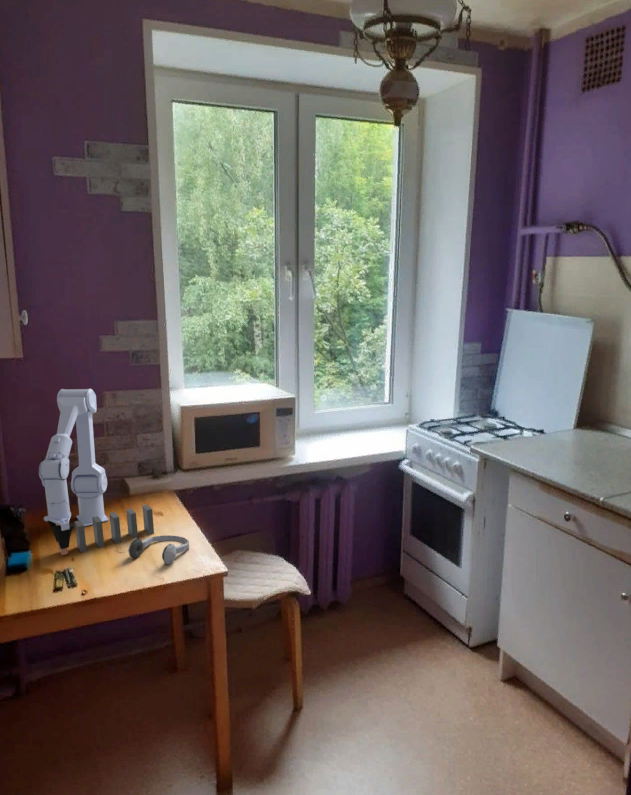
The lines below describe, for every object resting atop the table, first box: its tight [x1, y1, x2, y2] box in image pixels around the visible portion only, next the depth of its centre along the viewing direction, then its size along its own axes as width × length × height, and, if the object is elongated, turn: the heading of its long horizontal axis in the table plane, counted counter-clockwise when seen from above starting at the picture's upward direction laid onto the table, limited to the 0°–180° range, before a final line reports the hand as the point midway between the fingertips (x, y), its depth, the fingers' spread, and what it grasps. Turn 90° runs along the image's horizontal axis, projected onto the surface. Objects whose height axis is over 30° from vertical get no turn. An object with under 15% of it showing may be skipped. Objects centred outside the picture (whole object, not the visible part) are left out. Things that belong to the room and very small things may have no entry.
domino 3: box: [92, 516, 105, 549], centre depth 178 cm, size 4×2×8 cm, turn 34°
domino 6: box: [141, 504, 155, 535], centre depth 186 cm, size 4×2×8 cm, turn 34°
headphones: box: [115, 535, 190, 566], centre depth 172 cm, size 17×6×20 cm
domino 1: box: [56, 524, 69, 556], centre depth 172 cm, size 4×2×8 cm, turn 34°
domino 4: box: [109, 511, 122, 544], centre depth 181 cm, size 4×2×8 cm, turn 34°
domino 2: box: [74, 520, 88, 553], centre depth 175 cm, size 4×2×8 cm, turn 34°
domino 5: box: [125, 507, 139, 539], centre depth 183 cm, size 4×2×8 cm, turn 34°
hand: (62, 544), depth 173 cm, fingers closed on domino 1, 4 cm apart
